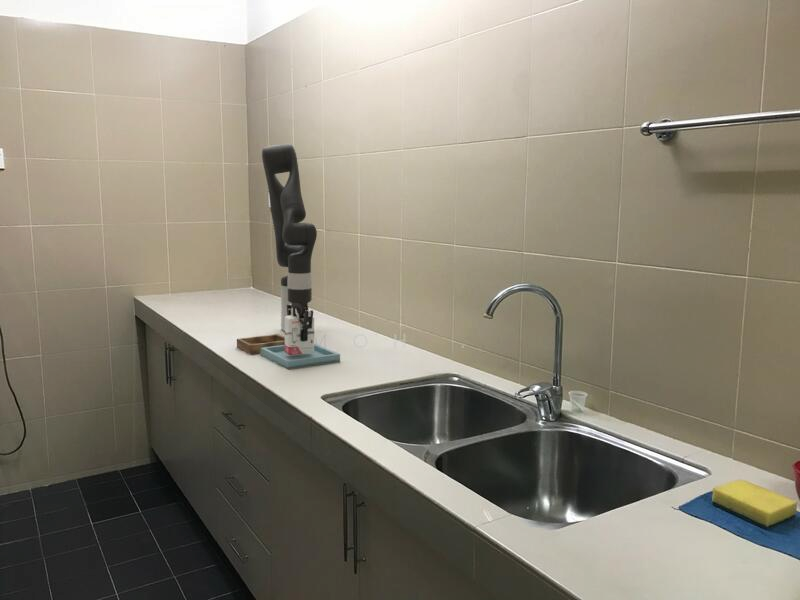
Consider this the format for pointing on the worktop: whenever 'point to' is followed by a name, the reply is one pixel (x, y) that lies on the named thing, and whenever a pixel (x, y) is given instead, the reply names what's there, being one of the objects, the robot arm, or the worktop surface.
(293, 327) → the ink box
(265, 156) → the robot arm
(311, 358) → the tray
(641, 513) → the worktop surface
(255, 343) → the holder
